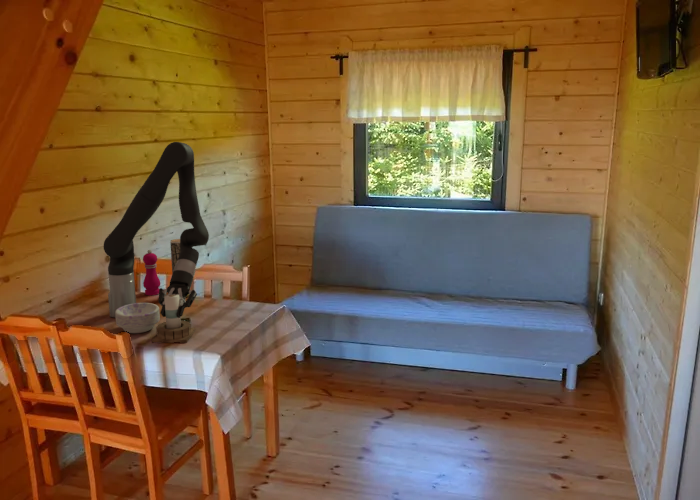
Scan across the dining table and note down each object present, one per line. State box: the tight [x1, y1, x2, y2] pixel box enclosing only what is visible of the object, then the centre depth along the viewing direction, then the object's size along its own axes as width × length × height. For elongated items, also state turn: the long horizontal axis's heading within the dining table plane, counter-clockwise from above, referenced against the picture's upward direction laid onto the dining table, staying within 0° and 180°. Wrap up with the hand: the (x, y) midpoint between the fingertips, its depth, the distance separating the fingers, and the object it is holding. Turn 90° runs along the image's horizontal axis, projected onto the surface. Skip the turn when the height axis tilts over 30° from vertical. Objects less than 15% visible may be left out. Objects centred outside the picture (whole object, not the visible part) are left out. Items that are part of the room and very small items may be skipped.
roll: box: [164, 293, 182, 329], centre depth 205 cm, size 5×5×12 cm
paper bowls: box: [115, 302, 161, 334], centre depth 213 cm, size 15×15×8 cm
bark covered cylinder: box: [169, 238, 189, 298], centre depth 251 cm, size 7×7×25 cm
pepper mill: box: [142, 249, 161, 296], centre depth 255 cm, size 7×7×20 cm
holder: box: [151, 319, 196, 344], centre depth 206 cm, size 12×12×4 cm
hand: (170, 316), depth 203 cm, fingers closed on roll, 5 cm apart
